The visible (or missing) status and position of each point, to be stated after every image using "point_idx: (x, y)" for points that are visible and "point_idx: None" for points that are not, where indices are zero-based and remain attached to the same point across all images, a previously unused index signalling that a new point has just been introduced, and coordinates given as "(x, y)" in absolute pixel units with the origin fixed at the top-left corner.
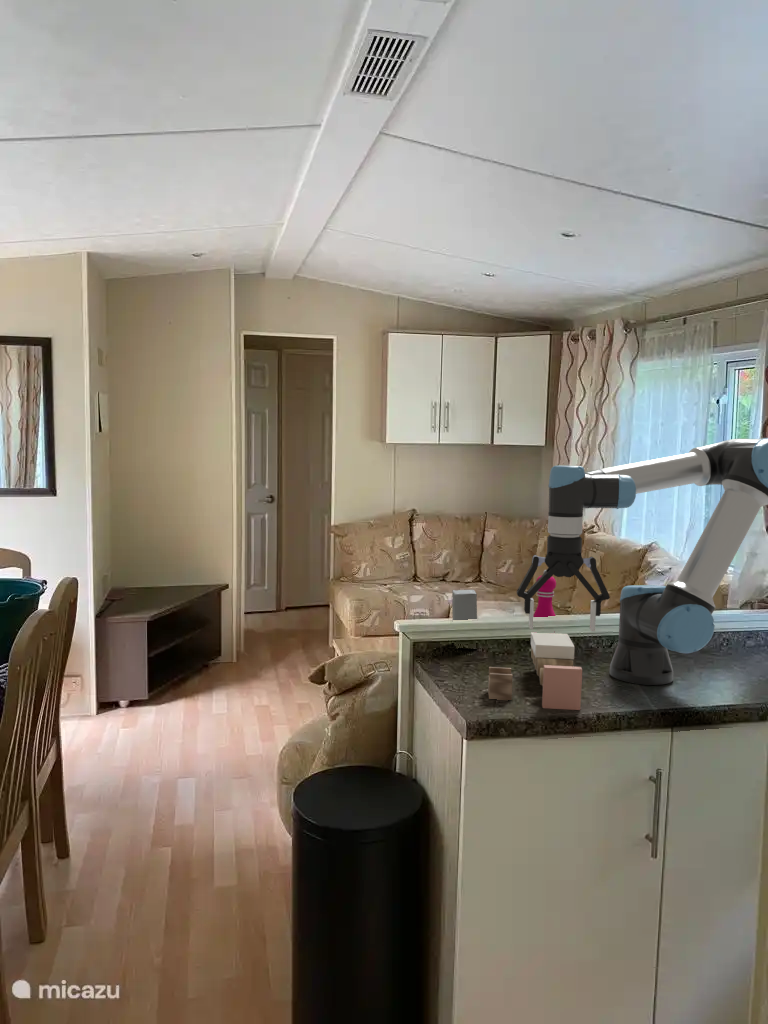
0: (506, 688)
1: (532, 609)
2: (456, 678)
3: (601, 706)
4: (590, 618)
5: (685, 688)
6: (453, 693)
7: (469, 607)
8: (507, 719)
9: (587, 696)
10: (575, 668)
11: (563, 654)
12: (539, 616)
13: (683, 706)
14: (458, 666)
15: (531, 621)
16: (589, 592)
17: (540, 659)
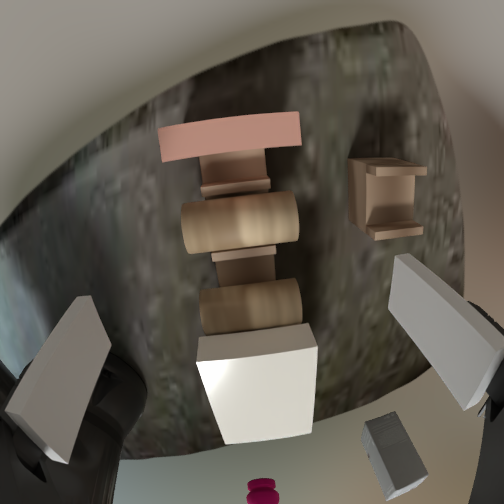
0: (372, 161)
1: (463, 312)
2: None
3: (133, 178)
4: (91, 373)
5: (29, 337)
6: (447, 186)
7: (400, 468)
8: (349, 33)
9: (167, 244)
10: (182, 132)
11: (229, 341)
12: (271, 501)
13: (8, 239)
14: (413, 346)
15: (424, 272)
16: (17, 488)
17: (295, 309)
